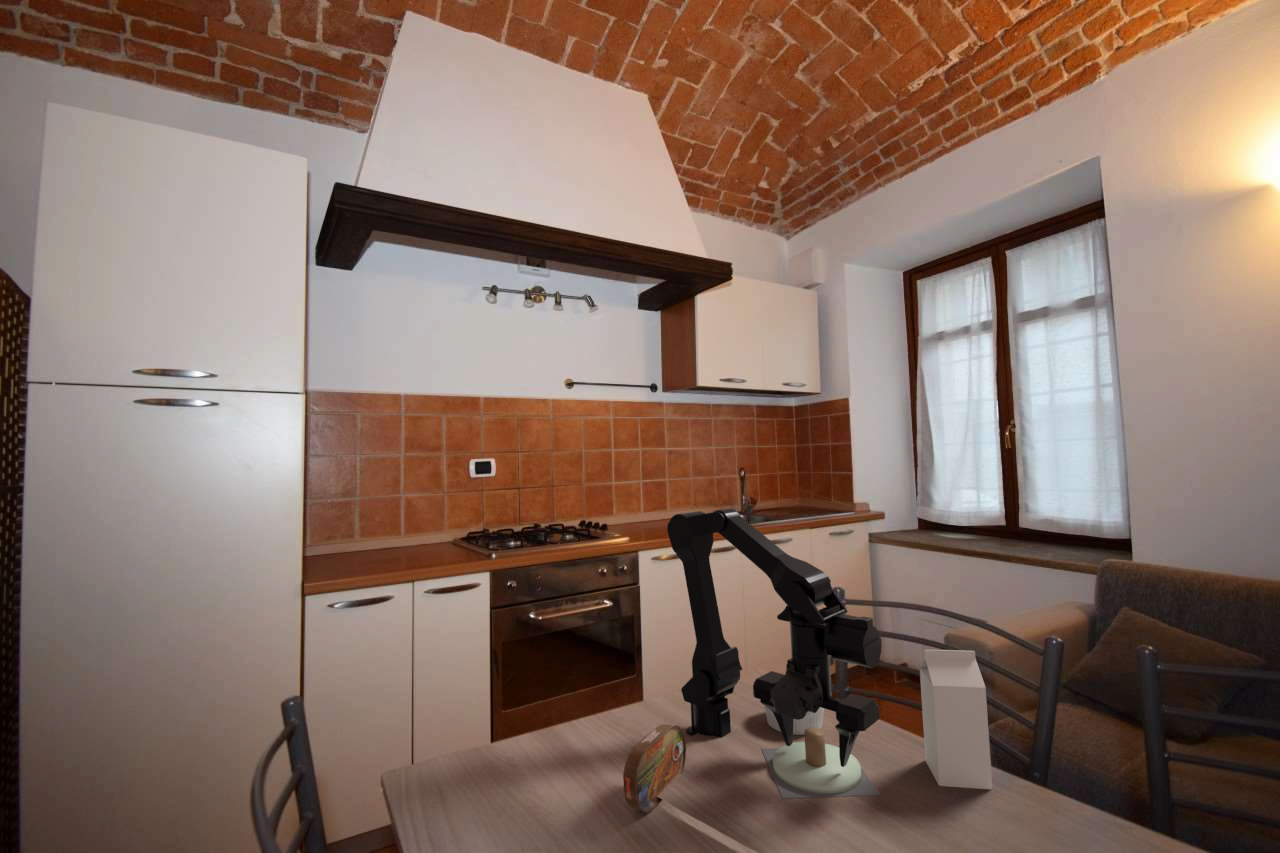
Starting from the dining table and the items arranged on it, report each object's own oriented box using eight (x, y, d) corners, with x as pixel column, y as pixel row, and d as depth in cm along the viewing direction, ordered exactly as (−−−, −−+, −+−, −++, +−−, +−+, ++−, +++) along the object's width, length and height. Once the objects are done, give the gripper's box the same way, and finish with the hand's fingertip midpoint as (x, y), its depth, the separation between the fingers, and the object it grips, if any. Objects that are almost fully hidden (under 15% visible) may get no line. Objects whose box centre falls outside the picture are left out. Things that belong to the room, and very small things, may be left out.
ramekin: (804, 748, 97) (802, 716, 97) (751, 727, 105) (749, 697, 106) (838, 726, 104) (837, 697, 105) (786, 708, 113) (785, 680, 113)
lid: (756, 771, 89) (755, 733, 89) (800, 741, 98) (799, 706, 98) (835, 805, 80) (833, 763, 80) (876, 768, 89) (873, 730, 89)
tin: (639, 825, 78) (637, 761, 79) (620, 818, 80) (618, 756, 80) (688, 771, 91) (686, 717, 92) (671, 767, 93) (669, 713, 93)
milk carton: (993, 795, 82) (983, 659, 83) (939, 791, 83) (930, 657, 85) (974, 768, 89) (966, 643, 90) (925, 765, 90) (917, 642, 92)
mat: (782, 804, 82) (782, 798, 82) (761, 753, 96) (761, 748, 96) (880, 800, 82) (880, 794, 82) (845, 750, 96) (845, 745, 96)
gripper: (730, 652, 91) (735, 754, 90) (842, 682, 77) (848, 802, 77) (770, 635, 99) (774, 729, 98) (877, 660, 85) (884, 768, 84)
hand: (815, 755), depth 89 cm, fingers open, 9 cm apart
